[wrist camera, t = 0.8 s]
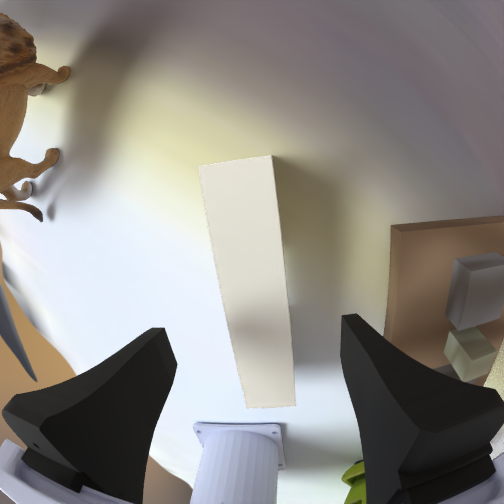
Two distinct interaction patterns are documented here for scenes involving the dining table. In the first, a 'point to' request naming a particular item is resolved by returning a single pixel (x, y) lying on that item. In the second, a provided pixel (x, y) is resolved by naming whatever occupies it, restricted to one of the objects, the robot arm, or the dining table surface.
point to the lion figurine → (20, 110)
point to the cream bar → (252, 275)
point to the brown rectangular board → (448, 295)
